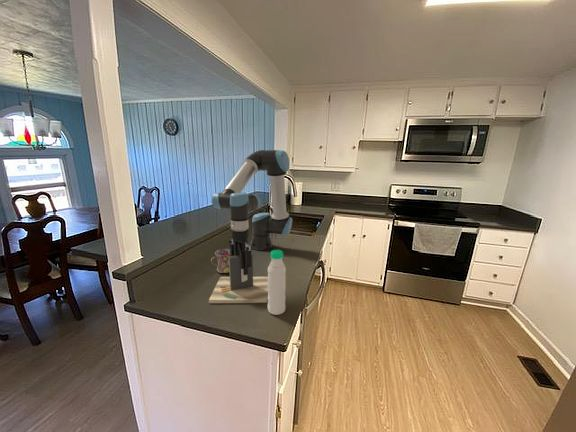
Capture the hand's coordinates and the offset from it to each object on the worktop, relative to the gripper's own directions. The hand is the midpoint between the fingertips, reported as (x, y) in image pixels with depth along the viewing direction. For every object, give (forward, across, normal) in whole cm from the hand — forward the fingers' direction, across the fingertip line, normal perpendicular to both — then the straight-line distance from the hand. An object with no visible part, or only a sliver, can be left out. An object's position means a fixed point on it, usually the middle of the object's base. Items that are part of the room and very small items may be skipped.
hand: (241, 278), depth 107 cm
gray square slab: (+4, -1, -2) cm, 4 cm away
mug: (+6, -22, +5) cm, 24 cm away
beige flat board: (+6, 0, 0) cm, 6 cm away
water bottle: (+6, +22, 0) cm, 23 cm away
